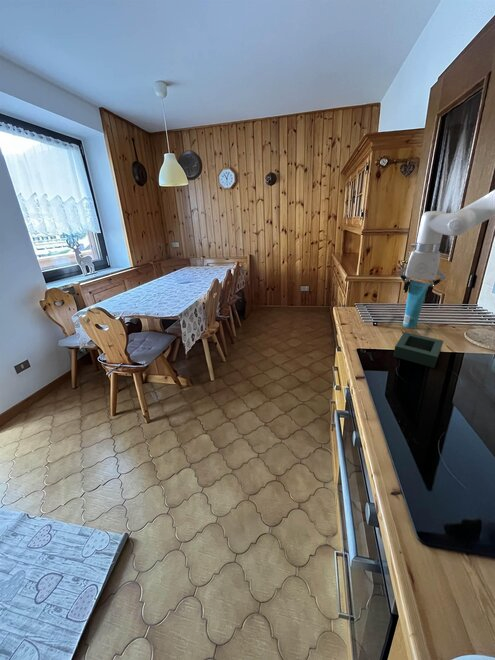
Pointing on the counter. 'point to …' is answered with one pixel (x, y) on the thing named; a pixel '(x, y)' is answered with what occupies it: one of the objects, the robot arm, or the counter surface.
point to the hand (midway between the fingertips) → (416, 293)
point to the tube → (414, 302)
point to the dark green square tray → (416, 354)
